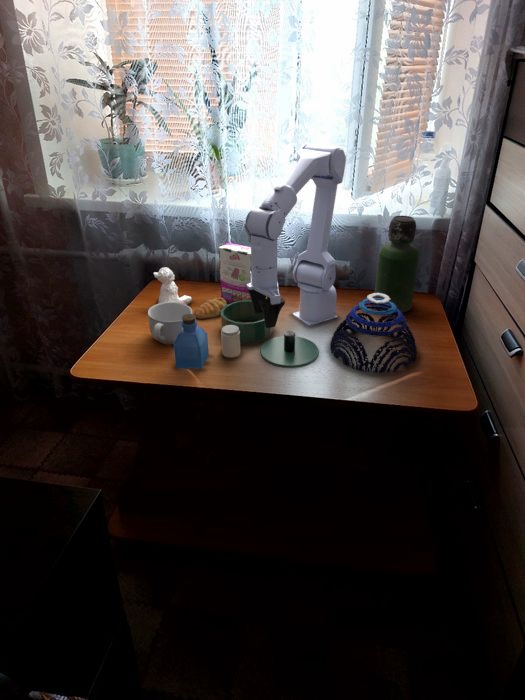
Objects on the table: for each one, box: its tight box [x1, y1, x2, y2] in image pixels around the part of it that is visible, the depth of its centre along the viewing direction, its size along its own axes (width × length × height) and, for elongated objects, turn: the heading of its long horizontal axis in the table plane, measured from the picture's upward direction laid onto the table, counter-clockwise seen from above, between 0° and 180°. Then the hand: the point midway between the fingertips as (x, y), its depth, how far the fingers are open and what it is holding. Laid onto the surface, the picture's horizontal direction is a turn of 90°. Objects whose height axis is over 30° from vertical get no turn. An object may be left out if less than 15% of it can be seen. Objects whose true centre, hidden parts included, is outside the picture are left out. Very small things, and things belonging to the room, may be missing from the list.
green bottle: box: [373, 215, 420, 314], centre depth 144 cm, size 10×10×25 cm
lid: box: [260, 330, 319, 368], centre depth 128 cm, size 14×14×6 cm
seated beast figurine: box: [153, 266, 193, 306], centre depth 148 cm, size 10×9×12 cm
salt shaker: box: [220, 325, 241, 358], centre depth 127 cm, size 4×4×7 cm
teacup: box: [147, 302, 193, 345], centre depth 133 cm, size 14×11×8 cm
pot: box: [220, 300, 274, 344], centre depth 137 cm, size 13×13×6 cm
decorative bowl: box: [329, 292, 418, 374], centre depth 126 cm, size 20×20×14 cm
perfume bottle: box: [173, 313, 210, 371], centre depth 123 cm, size 6×6×12 cm
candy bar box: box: [218, 242, 251, 304], centre depth 149 cm, size 11×5×16 cm, turn 58°
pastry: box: [193, 296, 228, 320], centre depth 146 cm, size 9×7×4 cm
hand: (264, 319), depth 124 cm, fingers open, 7 cm apart
